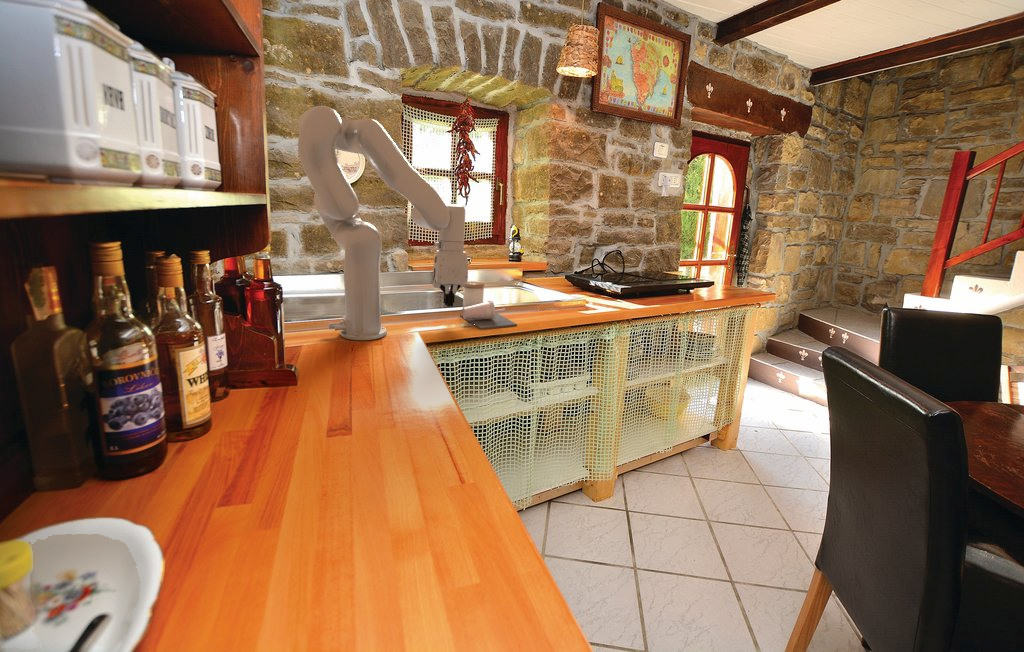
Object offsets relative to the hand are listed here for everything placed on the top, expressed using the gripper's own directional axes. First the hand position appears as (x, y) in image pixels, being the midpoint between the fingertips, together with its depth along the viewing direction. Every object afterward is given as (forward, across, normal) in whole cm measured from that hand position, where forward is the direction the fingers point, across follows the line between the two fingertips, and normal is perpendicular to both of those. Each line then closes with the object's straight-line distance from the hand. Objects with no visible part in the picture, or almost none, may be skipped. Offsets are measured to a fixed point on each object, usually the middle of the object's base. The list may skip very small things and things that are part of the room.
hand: (448, 305), depth 150 cm
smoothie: (+3, +5, 0) cm, 6 cm away
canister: (+6, +14, +13) cm, 20 cm away
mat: (+6, +14, 0) cm, 15 cm away
